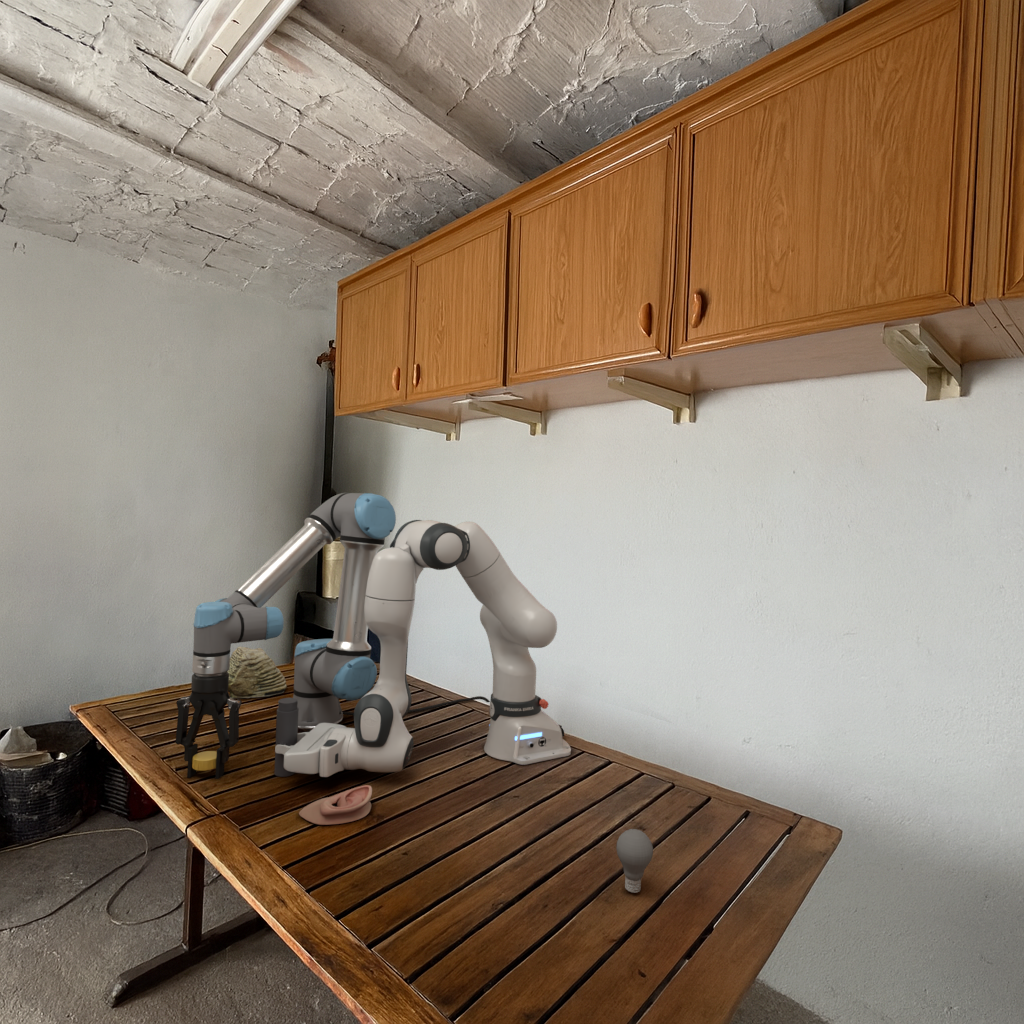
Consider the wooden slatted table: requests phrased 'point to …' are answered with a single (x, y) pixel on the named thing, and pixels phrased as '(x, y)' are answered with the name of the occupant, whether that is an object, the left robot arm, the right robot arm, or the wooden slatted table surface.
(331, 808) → the anatomical model
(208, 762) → the lid
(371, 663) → the left robot arm
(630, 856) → the light bulb
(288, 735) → the jar
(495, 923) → the wooden slatted table surface
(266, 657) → the fossil
